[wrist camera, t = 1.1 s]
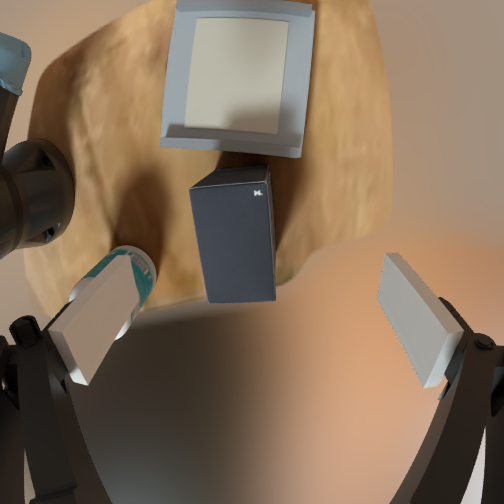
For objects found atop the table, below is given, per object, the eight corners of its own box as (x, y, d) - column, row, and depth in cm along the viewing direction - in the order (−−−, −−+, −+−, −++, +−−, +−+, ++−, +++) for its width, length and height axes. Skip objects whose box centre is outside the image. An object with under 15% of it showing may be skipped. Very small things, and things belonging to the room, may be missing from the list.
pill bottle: (108, 284, 38) (57, 343, 26) (110, 236, 35) (48, 287, 23) (155, 300, 38) (115, 369, 26) (162, 252, 36) (114, 313, 23)
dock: (169, 144, 30) (154, 147, 26) (184, 14, 24) (172, 0, 20) (297, 155, 30) (302, 159, 26) (311, 20, 24) (317, 5, 20)
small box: (210, 168, 31) (183, 185, 22) (270, 162, 31) (270, 177, 21) (222, 257, 35) (204, 306, 26) (277, 254, 35) (279, 302, 25)
